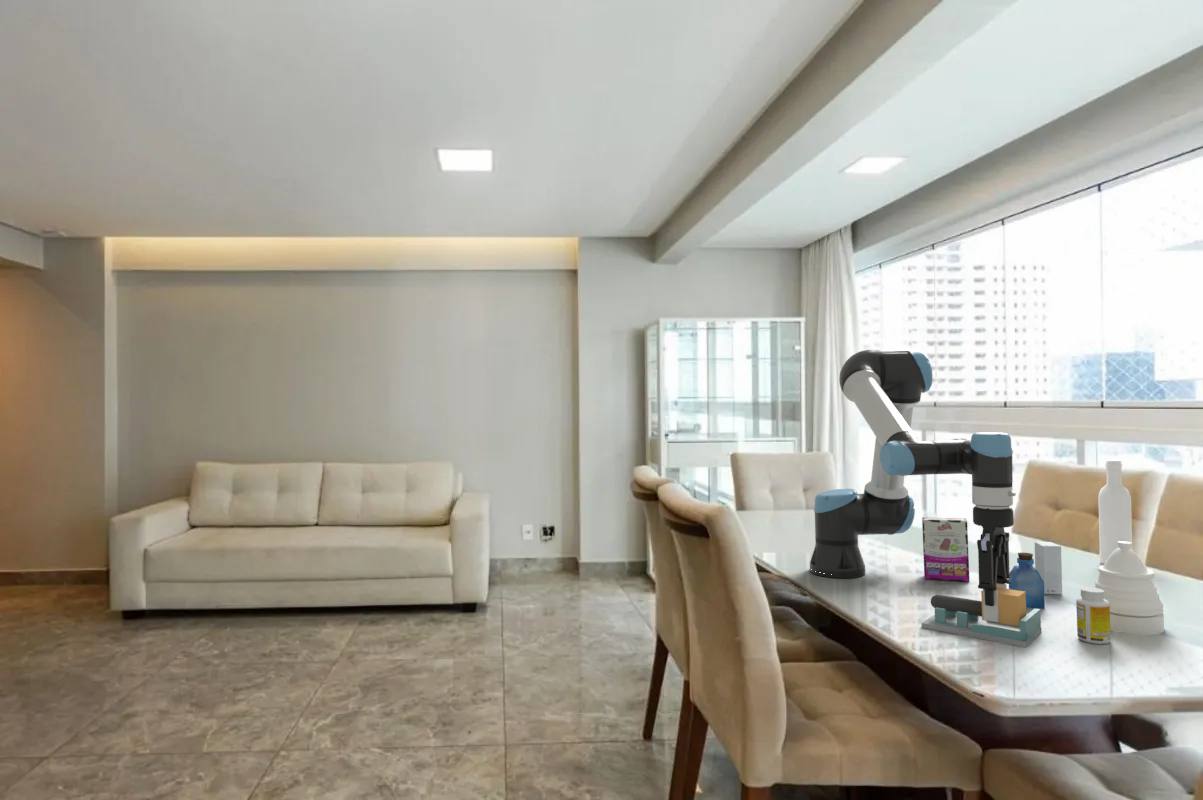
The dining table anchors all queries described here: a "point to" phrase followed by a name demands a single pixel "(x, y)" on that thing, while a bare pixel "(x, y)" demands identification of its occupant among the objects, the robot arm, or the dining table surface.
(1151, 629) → the honey pot
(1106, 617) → the supplement bottle
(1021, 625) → the teal block plate
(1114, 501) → the bottle
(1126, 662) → the dining table surface
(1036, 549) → the skincare box
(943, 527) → the candy bar box
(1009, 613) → the orange cube-head hammer
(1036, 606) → the perfume bottle
